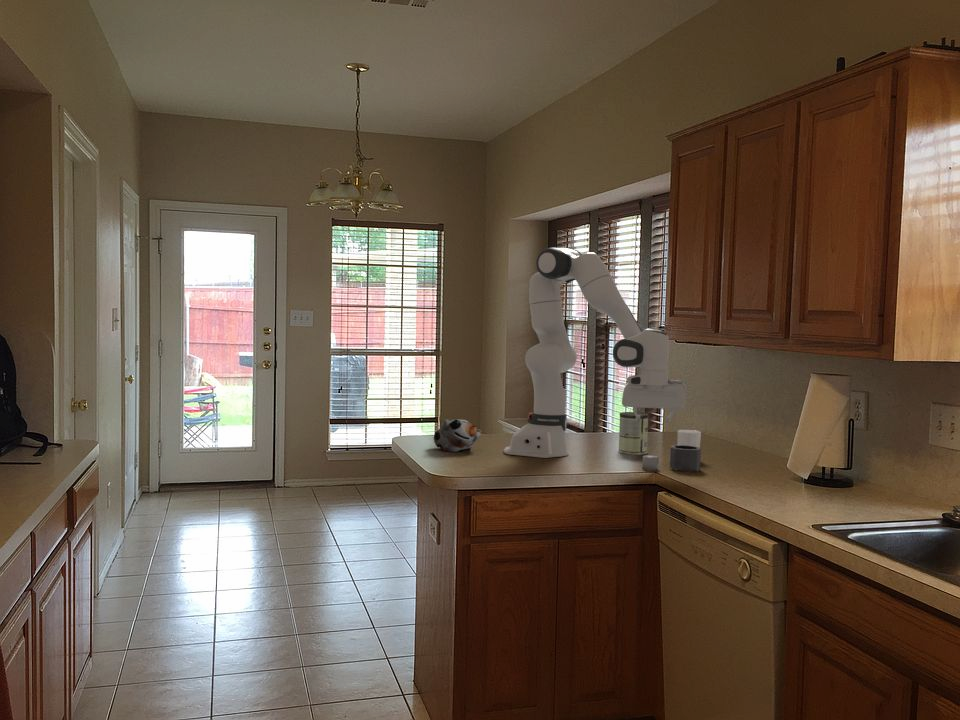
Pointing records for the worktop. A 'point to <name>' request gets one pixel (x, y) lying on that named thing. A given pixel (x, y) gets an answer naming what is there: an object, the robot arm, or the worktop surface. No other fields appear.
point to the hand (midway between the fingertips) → (652, 422)
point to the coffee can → (633, 433)
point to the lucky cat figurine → (456, 435)
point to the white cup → (689, 437)
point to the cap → (650, 462)
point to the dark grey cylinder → (685, 457)
